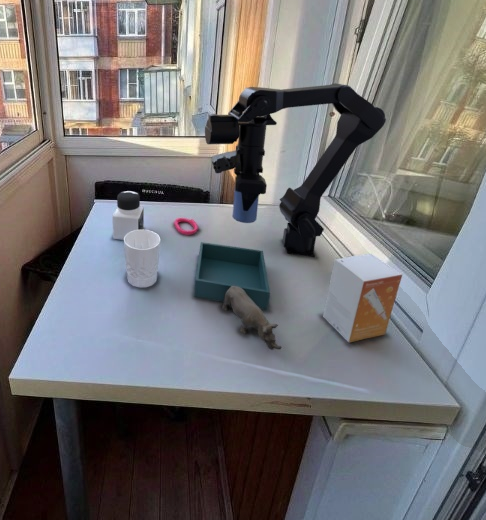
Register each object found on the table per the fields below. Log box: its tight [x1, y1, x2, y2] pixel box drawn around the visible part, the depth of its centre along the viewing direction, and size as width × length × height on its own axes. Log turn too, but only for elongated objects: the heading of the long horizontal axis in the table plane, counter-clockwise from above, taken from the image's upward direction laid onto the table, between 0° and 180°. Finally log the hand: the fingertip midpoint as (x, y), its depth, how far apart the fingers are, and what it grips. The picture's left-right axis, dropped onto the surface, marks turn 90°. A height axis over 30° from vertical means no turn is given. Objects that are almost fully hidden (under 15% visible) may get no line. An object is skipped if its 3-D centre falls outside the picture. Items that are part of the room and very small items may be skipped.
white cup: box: [123, 229, 162, 288], centre depth 73 cm, size 8×8×10 cm
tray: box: [193, 241, 271, 311], centre depth 73 cm, size 14×14×4 cm
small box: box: [322, 253, 403, 344], centre depth 59 cm, size 8×6×13 cm
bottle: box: [232, 190, 260, 224], centre depth 80 cm, size 6×6×11 cm
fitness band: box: [174, 217, 199, 236], centre depth 94 cm, size 8×6×2 cm
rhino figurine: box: [221, 286, 283, 351], centre depth 59 cm, size 4×14×6 cm, turn 22°
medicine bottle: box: [112, 190, 145, 241], centre depth 90 cm, size 7×7×12 cm
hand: (244, 205), depth 81 cm, fingers closed on bottle, 6 cm apart
